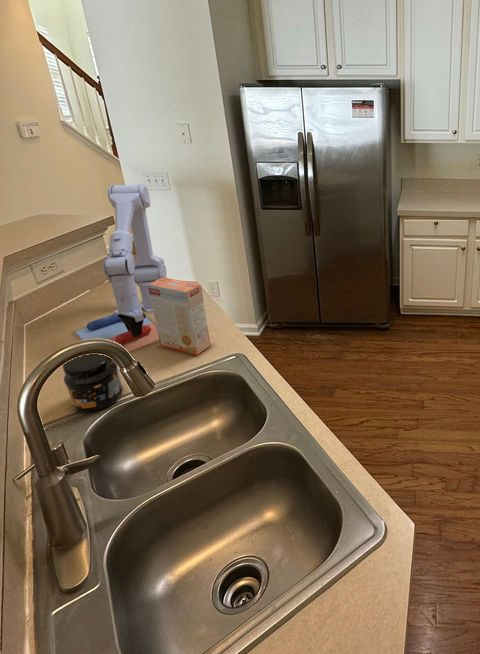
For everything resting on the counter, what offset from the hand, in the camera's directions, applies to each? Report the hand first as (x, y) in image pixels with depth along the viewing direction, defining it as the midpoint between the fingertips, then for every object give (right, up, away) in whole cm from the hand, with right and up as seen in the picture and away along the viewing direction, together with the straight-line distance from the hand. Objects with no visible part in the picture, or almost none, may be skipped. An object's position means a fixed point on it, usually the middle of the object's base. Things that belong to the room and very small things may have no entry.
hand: (135, 333), depth 132 cm
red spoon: (-1, -2, -1) cm, 2 cm away
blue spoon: (-13, +2, +8) cm, 15 cm away
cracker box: (+17, -4, -2) cm, 17 cm away
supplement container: (+6, -12, -24) cm, 28 cm away
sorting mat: (-6, -1, +3) cm, 7 cm away
